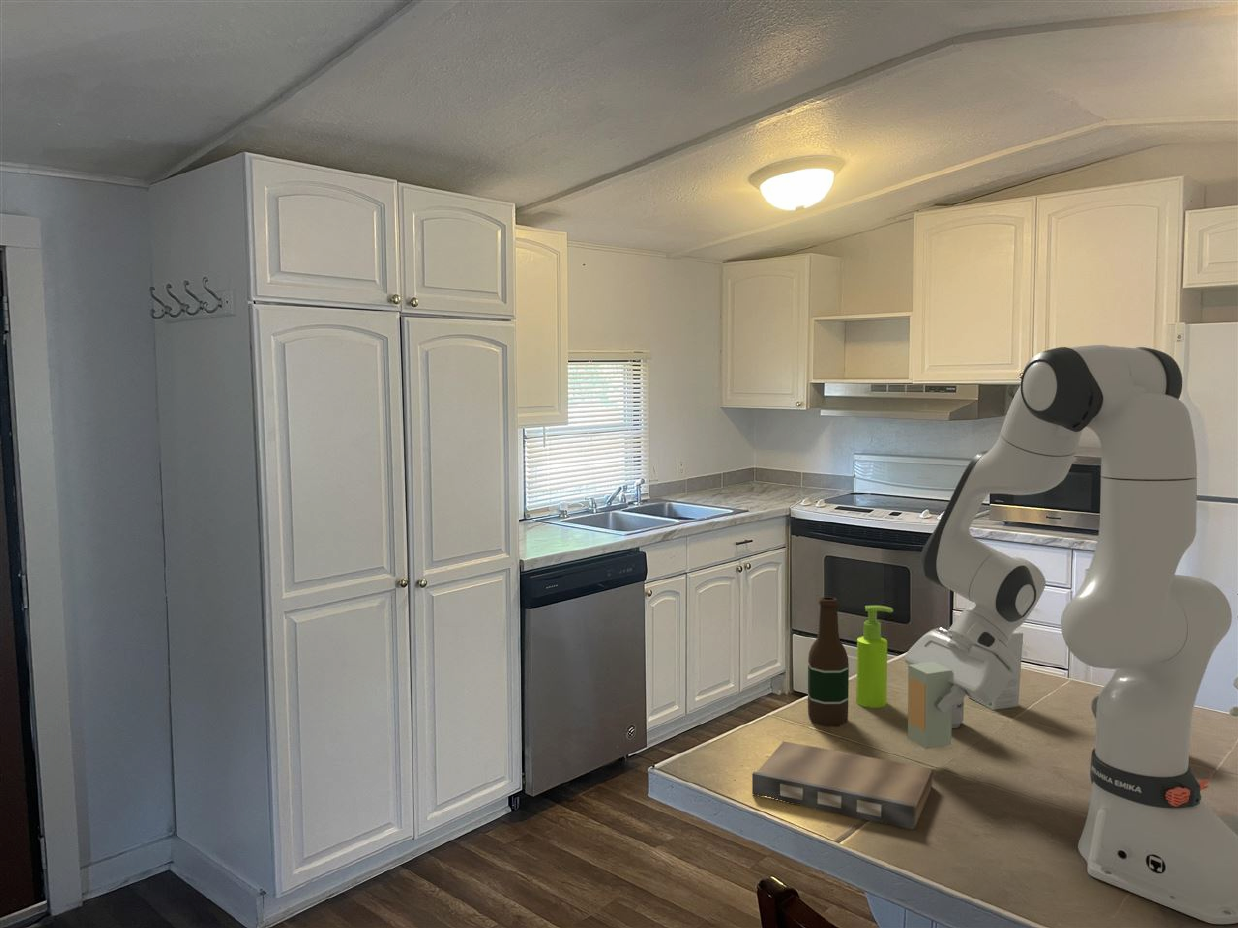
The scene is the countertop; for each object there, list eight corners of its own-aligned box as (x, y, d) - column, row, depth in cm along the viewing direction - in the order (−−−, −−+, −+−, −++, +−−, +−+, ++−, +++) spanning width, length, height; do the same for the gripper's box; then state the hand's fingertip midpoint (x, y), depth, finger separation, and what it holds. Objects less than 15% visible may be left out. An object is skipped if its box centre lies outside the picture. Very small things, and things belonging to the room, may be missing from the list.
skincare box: (966, 696, 188) (968, 623, 186) (993, 693, 190) (994, 620, 188) (994, 711, 180) (996, 634, 178) (1021, 707, 182) (1024, 630, 180)
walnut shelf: (932, 786, 148) (932, 765, 147) (913, 830, 134) (913, 807, 133) (783, 757, 160) (783, 737, 159) (751, 795, 145) (751, 774, 145)
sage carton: (951, 744, 154) (952, 669, 153) (925, 749, 152) (926, 673, 151) (932, 734, 159) (932, 661, 157) (907, 738, 157) (907, 665, 156)
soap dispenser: (892, 709, 181) (894, 610, 179) (857, 706, 183) (858, 609, 181) (890, 698, 187) (891, 603, 185) (855, 696, 189) (856, 602, 187)
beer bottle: (856, 723, 174) (858, 600, 172) (822, 729, 172) (823, 605, 169) (832, 709, 182) (833, 591, 179) (799, 715, 179) (800, 596, 176)
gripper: (925, 614, 166) (879, 673, 164) (1006, 644, 146) (955, 711, 144) (945, 635, 168) (900, 694, 165) (1028, 668, 148) (978, 734, 146)
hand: (926, 702), depth 155 cm, fingers closed on sage carton, 5 cm apart
